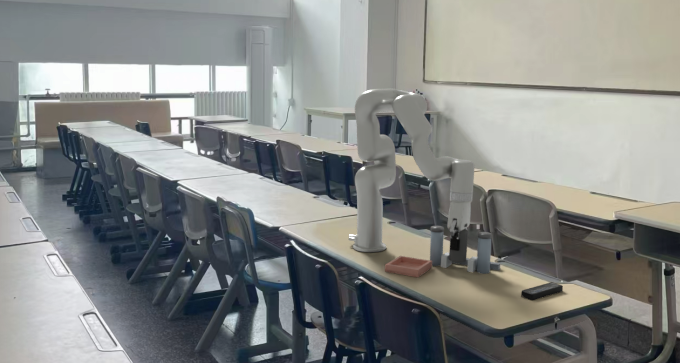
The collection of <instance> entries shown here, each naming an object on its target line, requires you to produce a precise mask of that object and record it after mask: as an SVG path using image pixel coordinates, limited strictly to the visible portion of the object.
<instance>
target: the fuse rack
mask: <svg viewBox="0 0 680 363" xmlns="http://www.w3.org/2000/svg"><path fill="white" fill-rule="evenodd" d="M444 231H445V227H444V226H441V225H432V226H430V244H429V245H430V246H429V247H430V248H429V249H430V250H429V260H430V261H432V267H433V266H435V267H439V266H440V268H444V269H445V268H446V269H447V268H448V267H450V266H451V265H452V264H455V265H463V266H467V267H466V268H467V269H466V270H467V272H469V273H474V272H475V271H476V273H478V274H490V273H491V270H493V271H500V270H501V263H500V262H493V261H491V254H492V236H493V234H492V233H491V232H488V231H480V232H478V233H477V251H476V252H477V253H476V256H471V257H470V258H468V257H466V261H465V262H461V263H457V262H452V261H450V260H449V252H448V251H447V252H445V253H444Z"/></svg>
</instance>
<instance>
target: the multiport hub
mask: <svg viewBox="0 0 680 363" xmlns="http://www.w3.org/2000/svg"><path fill="white" fill-rule="evenodd" d="M563 290H564V289H563V285H562V284H558V283H555V282H554V281H553V282H552V281H551V282H547V283H543V284H541V285H535V286H533V287H529V288H525V289H522V290H521V294H520V295H521V297H522V298H524V299H527V300H529V301H536V300H540V299H542V297H543V298H547V297H548V296H552V294H553V295H557V294H559V293H562V292H563Z"/></svg>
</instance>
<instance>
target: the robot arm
mask: <svg viewBox="0 0 680 363" xmlns="http://www.w3.org/2000/svg"><path fill="white" fill-rule="evenodd" d="M427 111H428V102H427V100H426V98H425V97H424V96H423V95H422V94H419V93H416V92H415V93H414V92H411V91H407V90H401V89H397V88H373V89H369V90H365V91H364V92H362V93H361V94H360V95H359V96H358V97H357V99H356V101H355V105H354V117H355V124H356V145H357V155H358V158H359V159H360V160H361V161H362V162H366V163H369V162H370V163H371V162H373V163H374V164H369V165H365V166H362V167H361V168H359V169H358V170H357V172H356V173H355V176H354V185H355V189H356V190H355V191H356V200H357V201H356V204H357V206H356V211H357V213H356V216H357V218H356V221H357V222H356V224H357V225H356V226H357V227H356V234H349V235H348V241H352V242H354V243H353V244H352V248H353V249H354V250H355V251H358V252H363V253H378V252H382V251H384V250H386V249H387V245H386V243H384V242H383V220H384V219H383V218H384V217H383V214H384V212H383V208H384V207H383V206H384V205H383V204H384V203H383V202H384V201H383V198H382V195H381V191H380V190H381V189H386V188H389V187H390V186H392V185H394V183H395V181H396V178H397V177H396V176H397V175H396V174H397V167H396V162H397V161H396V148H395V144H394V141H393V139H392V138H391V137H390V136H389V135H386V134H381V130H380V129H381V128H380V126H381V125H380V121H379V118H378V116H377V115H376V114H378V113H387V112H393V113H394V115H395V116H396V118H397V120H398V121H399V123H400V124H401V126H402V127H403V129H404V131H405V132H406V134H407V136H408V137H409V139H410V141H411V153H412V157H413V159H414V162H415V164H416V165H417V167H418V169H419V170H420V172H421V173H422V175H424V177H425V178H426V179H427V180H429V181H433V182H436V181H441V180H445V179H446V180H447V179H450V190H449V191H450V193H449V201H450V203H449V210H448V214H447V215H448V217H447V218H448V219H447V226H446V227H447V229H448V230H449V233H450V235H451V237H450V236H449V237H450V238H451V243H450V242H449V250H450V249H451V250H455V251H459V250H460V239H459V237H460V232H461V231H462V230H463V229H466V230H467V231H468V228H469V227H470V224H471V214H472V212H471V209H472V208H471V203H472V202H473V196H474V195H473V194H474V182H475V181H474V180H475V163H474V161H473V160H469V159H460V158H456V157H452V156H447V155H445V156H440V157H436V155H435V154H434V152H433V151H432V149H431V146H430V144H429V136H430V134H432V133H433V126H432V124H431V122H429V120H428V119H427V117H426V113H427ZM465 224H467V227H464V226H465ZM455 228H458V230H455ZM455 232H458V234H457V233H455ZM450 238H449V239H450Z"/></svg>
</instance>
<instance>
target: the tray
mask: <svg viewBox="0 0 680 363" xmlns="http://www.w3.org/2000/svg"><path fill="white" fill-rule="evenodd" d="M432 268H433V265H432V261H430V259H424V258H423V259H422V258H418V257H410V256H405V255H399V256H397V257H396V258H394V259H392V260H390V261H389V262H387V263H385V264H384V272H386V273H389V274H390V273H391V274H396V275H397V274H398V275H403V276H409V277H413V278H419V277H421V276H422V275H424V274H425V273H427V272H428V271H429V270H431V269H432Z"/></svg>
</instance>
